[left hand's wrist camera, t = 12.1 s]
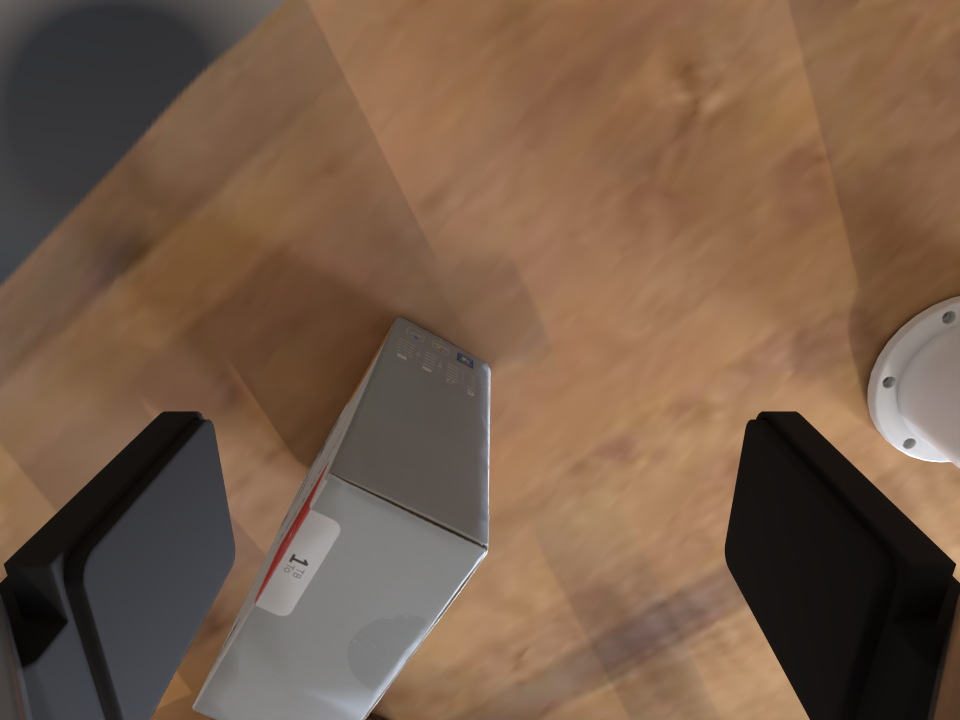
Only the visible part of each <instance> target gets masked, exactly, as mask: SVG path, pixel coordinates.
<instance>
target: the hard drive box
mask: <svg viewBox="0 0 960 720" xmlns="http://www.w3.org/2000/svg"><path fill="white" fill-rule="evenodd" d="M489 432H490V368H489V367H488V364H487V363H485V362H483V361H481V360H480V359H478V358H476V357H474V356H472V355H471V354H469V353H467V352H465V351H463V350H462V349H460V348H458V347H456V346H454V345H452V344H451V343H449V342H447V341H445V340H443V339H441V338H439V337H437V336H436V335H434V334H432V333H430V332H428V331H426V330H425V329H423V328H421V327H419V326H417V325H415V324H413V323H411V322H409V321H408V320H406V319H404V318H402V317H397V318H396V319H395V321H394V322H393V324H392V326H391V327H390V329H389V331H388V333H387V334H386V336H385V338H384V340H383V341H382V343H381V345H380V347H379V348H378V350H377V352H376V354H375V355H374V357H373V359H372V361H371V362H370V364H369V366H368V368H367V369H366V371H365V373H364V375H363V376H362V378H361V380H360V382H359V383H358V385H357V387H356V388H355V390H354V392H353V394H352V395H351V397H350V399H349V401H348V402H347V404H346V406H345V408H344V409H343V411H342V413H341V415H340V416H339V418H338V420H337V422H336V423H335V425H334V427H333V429H332V430H331V432H330V434H329V436H328V437H327V439H326V441H325V442H324V444H323V446H322V448H321V449H320V451H319V453H318V455H317V457H316V458H315V460H314V462H313V464H312V466H311V467H310V469H309V471H308V473H307V474H306V476H305V478H304V480H303V482H302V484H301V486H300V488H299V490H298V492H297V494H296V496H295V498H294V500H293V502H292V504H291V506H290V508H289V510H288V512H287V514H286V516H285V518H284V520H283V522H282V525H281V527H280V529H279V531H278V533H277V535H276V537H275V539H274V541H273V543H272V545H271V548H270V550H269V552H268V554H267V556H266V558H265V560H264V562H263V564H262V566H261V568H260V570H259V572H258V574H257V577H256V579H255V581H254V583H253V585H252V587H251V589H250V591H249V593H248V595H247V597H246V599H245V601H244V603H243V605H242V607H241V609H240V612H239V614H238V616H237V618H236V620H235V622H234V624H233V626H232V628H231V630H230V632H229V634H228V636H227V638H226V640H225V642H224V644H223V646H222V648H221V650H220V653H219V655H218V657H217V659H216V661H215V663H214V665H213V667H212V669H211V671H210V673H209V675H208V677H207V679H206V681H205V683H204V685H203V687H202V689H201V691H200V693H199V695H198V697H197V699H196V701H195V703H194V704H193V706H192V709H193V710H195V711H197V712H199V713H201V714H203V715H206V716H209V717H211V718H214V719H216V720H365V719H366V717H367V716H368V715H369V713H370V712H371V711H372V709H373V708H374V707H375V705H376V704H377V703H378V701H379V700H380V698H381V697H382V696H383V694H384V693H385V691H386V690H387V689H388V687H389V686H390V685H391V683H392V682H393V681H394V679H395V678H396V677H397V675H398V674H399V673H400V671H401V670H402V669H403V667H404V666H405V665H406V663H407V662H408V660H409V659H410V658H411V656H412V655H413V654H414V652H415V651H416V650H417V649H418V647H419V646H420V644H421V643H422V642H423V640H424V639H425V638H426V636H427V635H428V634H429V632H430V631H431V630H432V628H433V627H434V626H435V624H436V623H437V622H438V620H439V619H440V618H441V616H442V615H443V614H444V613H445V611H446V610H447V609H448V607H449V606H450V605H451V603H452V602H453V601H454V599H455V598H456V597H457V595H458V594H459V593H460V591H461V590H462V588H463V587H464V586H465V584H466V583H467V581H468V580H469V579H470V577H471V576H472V574H473V573H474V572H475V570H476V569H477V567H478V566H479V564H480V563H481V561H482V560H483V558H484V557H485V556H486V554H487V549H488V533H489Z"/></svg>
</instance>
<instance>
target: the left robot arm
mask: <svg viewBox="0 0 960 720" xmlns="http://www.w3.org/2000/svg"><path fill="white" fill-rule="evenodd" d="M868 408H869V412H870V417H871V419H872V421H873V423H874V425H875V427H876V429H877V430H878V431H879V432H880V434H881V435H882V436H883V437H884V438H885V439H886V440H887V441H888V442H889V443H891V444H892V445H893V446H894V447H896V448H897V449H898V450H900V451H902V452H904V453H905V454H907V455H909V456H911V457H915V458H918V459H921V460H925V461H935V462H950V461H951V462H953V463H954V464H955V465H957V466H958V467H959V468H960V296H957V297H953V298H950V299H947V300H945V301H943V302H940V303H938V304H935V305H933V306H931V307H929V308H928V309H926V310H924V311H923V312H921V313H919V314H918V315H916V316H915V317H914V318H912V319H911V320H910V321H909V322H907V323H906V324H905V325H904V326H903V327H901V328H900V329H899V330H898V332H897V333H896V334H895V335H894V336H893V337H892V338H891V339H890V340H889V341H888V343H887V344H886V346H885V347H884V349H883V350H882V352H881V353H880V355H879V356H878V358H877V361H876V363H875V365H874V368H873V370H872V372H871V376H870V381H869V385H868ZM234 558H235V543H234V537H233V531H232V526H231V520H230V514H229V508H228V503H227V497H226V491H225V486H224V480H223V474H222V469H221V463H220V457H219V452H218V446H217V440H216V435H215V429H214V425H213V423H212V421H210V420H204V418H203V416H202V414H201V413H199V412H162V413H161V414H160V415H159V416H157V417H156V418H155V419H154V420H153V421H152V422H151V423H150V424H149V425H148V426H147V427H146V428H145V429H144V430H143V431H142V432H141V433H140V434H139V435H138V436H137V437H136V438H135V439H134V440H132V441H131V442H130V443H129V444H128V445H127V446H126V447H125V448H124V449H123V450H122V451H121V452H120V453H119V454H118V455H117V456H116V457H115V458H114V459H113V460H112V461H111V462H110V463H109V464H108V465H106V466H105V467H104V468H103V469H102V470H101V471H100V472H99V473H98V474H97V475H96V476H95V477H94V478H93V479H92V480H91V481H90V482H89V483H88V484H87V485H86V486H85V487H84V488H83V489H82V490H80V491H79V492H78V493H77V494H76V495H75V496H74V497H73V498H72V499H71V500H70V501H69V502H68V503H67V504H66V505H65V506H64V507H63V508H62V509H61V510H60V511H59V512H58V513H57V514H55V515H54V516H53V517H52V518H51V519H50V520H49V521H48V522H47V523H46V524H45V525H44V526H43V527H42V528H41V529H40V530H39V531H38V532H37V533H36V534H35V535H34V536H33V537H32V538H31V539H29V540H28V541H27V542H26V543H25V544H24V545H23V546H22V547H21V548H20V549H19V550H18V551H17V552H16V553H15V554H14V555H13V556H12V557H11V558H10V559H9V560H8V561H7V562H6V563H5V564H4V567H5V569H6V572H7V575H8V576H7V577H6V578H5V579H4V580H3V581H2V582H1V583H0V720H150V719H151V717H152V715H153V713H154V711H155V709H156V707H157V706H158V704H159V702H160V700H161V698H162V696H163V694H164V693H165V691H166V689H167V687H168V685H169V683H170V681H171V680H172V678H173V676H174V674H175V672H176V670H177V668H178V667H179V665H180V663H181V661H182V659H183V657H184V655H185V654H186V652H187V650H188V648H189V646H190V644H191V642H192V641H193V639H194V637H195V635H196V633H197V631H198V629H199V628H200V626H201V624H202V622H203V620H204V618H205V616H206V615H207V613H208V611H209V609H210V607H211V605H212V603H213V602H214V600H215V598H216V596H217V594H218V592H219V590H220V589H221V587H222V585H223V583H224V581H225V579H226V577H227V576H228V574H229V572H230V570H231V568H232V566H233V562H234ZM725 558H726V562H727V566H728V568H729V570H730V572H731V574H732V576H733V577H734V579H735V581H736V583H737V585H738V587H739V589H740V590H741V592H742V594H743V596H744V598H745V600H746V602H747V603H748V605H749V607H750V609H751V611H752V613H753V615H754V616H755V618H756V620H757V622H758V624H759V626H760V628H761V629H762V631H763V633H764V635H765V637H766V639H767V641H768V642H769V644H770V646H771V648H772V650H773V652H774V654H775V655H776V657H777V659H778V661H779V663H780V665H781V667H782V668H783V670H784V672H785V674H786V676H787V678H788V680H789V681H790V683H791V685H792V687H793V689H794V691H795V693H796V694H797V696H798V698H799V700H800V702H801V704H802V706H803V707H804V709H805V711H806V713H807V715H808V717H809V719H810V720H960V583H959V582H958V581H957V580H956V579H955V578H954V577H953V576H952V575H953V572H954V569H955V567H956V564H955V563H954V562H953V561H952V560H951V559H950V558H949V557H948V556H947V555H946V554H945V553H944V552H943V551H942V550H941V549H940V548H939V547H938V546H937V545H936V544H935V543H934V542H933V541H932V540H931V539H929V538H928V537H927V536H926V535H925V534H924V533H923V532H922V531H921V530H920V529H919V528H918V527H917V526H916V525H915V524H914V523H913V522H912V521H911V520H910V519H909V518H908V517H907V516H906V515H905V514H903V513H902V512H901V511H900V510H899V509H898V508H897V507H896V506H895V505H894V504H893V503H892V502H891V501H890V500H889V499H888V498H887V497H886V496H885V495H884V494H883V493H882V492H881V491H880V490H878V489H877V488H876V487H875V486H874V485H873V484H872V483H871V482H870V481H869V480H868V479H867V478H866V477H865V476H864V475H863V474H862V473H861V472H860V471H859V470H858V469H857V468H856V467H855V466H854V465H852V464H851V463H850V462H849V461H848V460H847V459H846V458H845V457H844V456H843V455H842V454H841V453H840V452H839V451H838V450H837V449H836V448H835V447H834V446H833V445H832V444H831V443H830V442H829V441H828V440H826V439H825V438H824V437H823V436H822V435H821V434H820V433H819V432H818V431H817V430H816V429H815V428H814V427H813V426H812V425H811V424H810V423H809V422H808V421H807V420H806V419H805V418H804V417H803V416H801V415H800V414H799V413H798V412H761V413H759V414H758V416H757V418H756V420H750V421H748V423H747V425H746V429H745V435H744V440H743V446H742V452H741V457H740V463H739V469H738V474H737V480H736V486H735V491H734V497H733V503H732V508H731V514H730V520H729V525H728V531H727V537H726V543H725Z"/></svg>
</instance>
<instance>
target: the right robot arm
mask: <svg viewBox="0 0 960 720" xmlns="http://www.w3.org/2000/svg"><path fill="white" fill-rule="evenodd" d="M365 720H383V719H381V718H379V717H377V716H375V715H372V714H369V715H368V716H367V717H366V719H365Z"/></svg>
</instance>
